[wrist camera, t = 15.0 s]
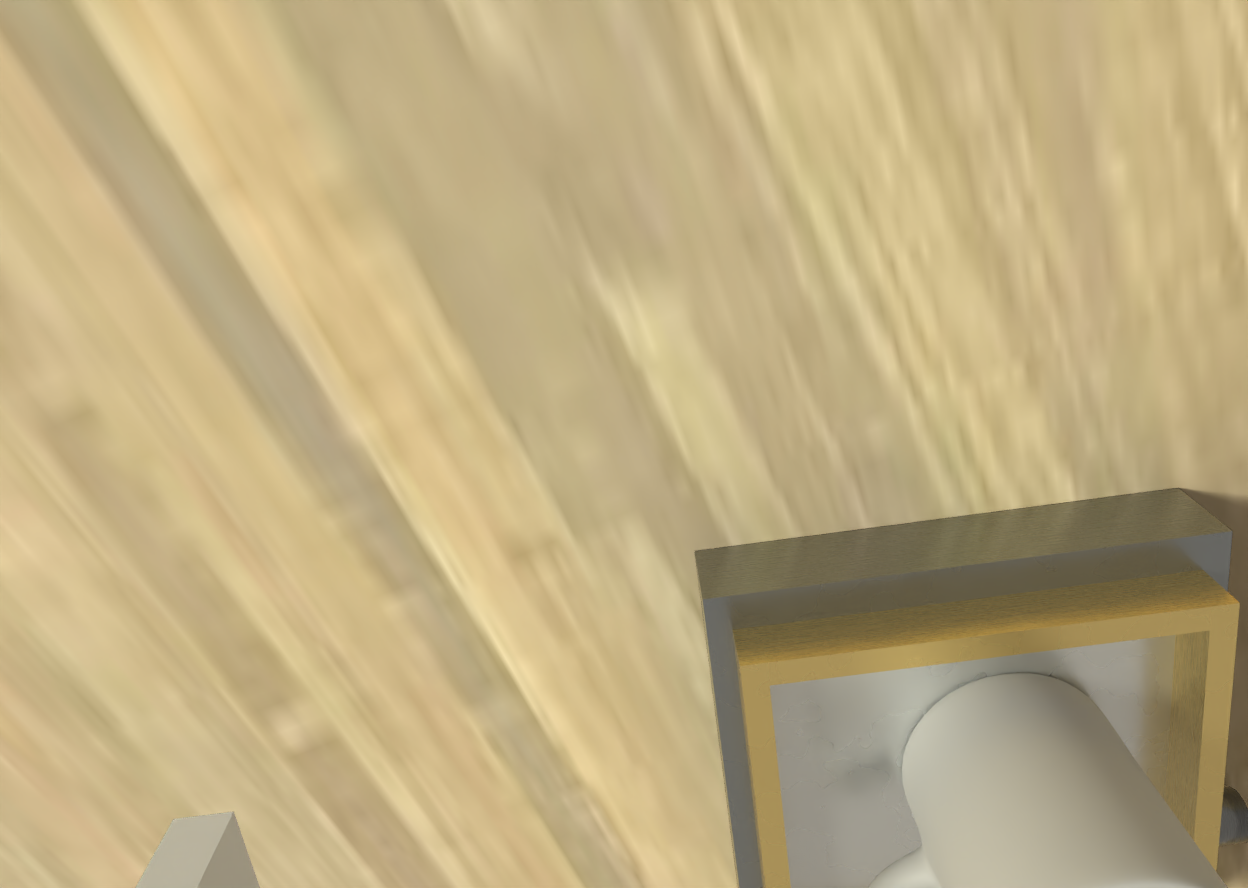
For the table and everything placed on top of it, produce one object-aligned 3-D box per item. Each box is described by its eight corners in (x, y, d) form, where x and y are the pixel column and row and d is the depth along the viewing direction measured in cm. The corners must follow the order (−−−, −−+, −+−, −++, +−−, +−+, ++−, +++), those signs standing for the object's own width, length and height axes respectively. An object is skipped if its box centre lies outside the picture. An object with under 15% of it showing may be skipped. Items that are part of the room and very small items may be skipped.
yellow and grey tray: (741, 914, 51) (759, 1032, 45) (694, 551, 44) (708, 634, 38) (1212, 858, 50) (1295, 972, 44) (1244, 479, 43) (1349, 552, 37)
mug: (1053, 632, 41) (1203, 834, 30) (1143, 779, 43) (1309, 1011, 33) (787, 776, 43) (843, 1010, 33) (888, 908, 45) (969, 1161, 35)
